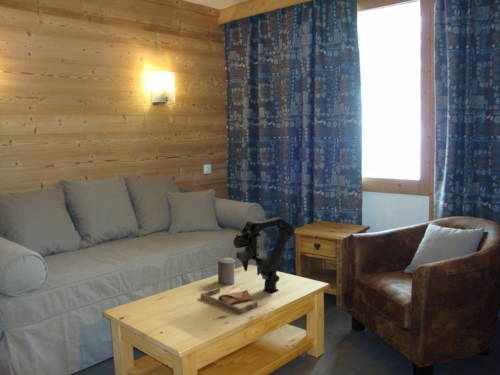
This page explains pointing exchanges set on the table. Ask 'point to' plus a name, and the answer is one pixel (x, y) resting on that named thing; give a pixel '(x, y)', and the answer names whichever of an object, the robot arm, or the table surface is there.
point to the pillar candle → (226, 271)
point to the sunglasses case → (236, 297)
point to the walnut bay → (225, 305)
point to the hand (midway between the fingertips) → (252, 273)
